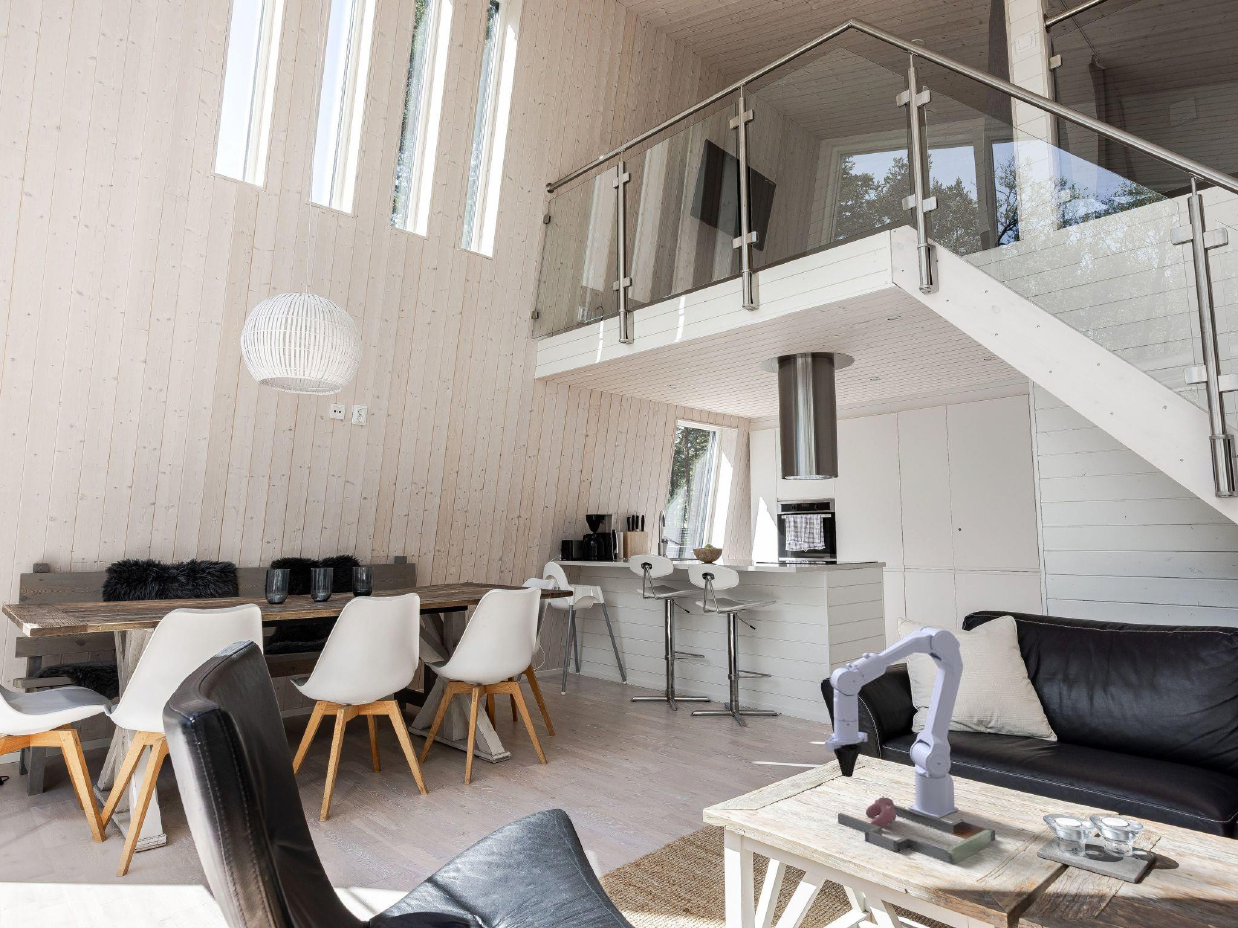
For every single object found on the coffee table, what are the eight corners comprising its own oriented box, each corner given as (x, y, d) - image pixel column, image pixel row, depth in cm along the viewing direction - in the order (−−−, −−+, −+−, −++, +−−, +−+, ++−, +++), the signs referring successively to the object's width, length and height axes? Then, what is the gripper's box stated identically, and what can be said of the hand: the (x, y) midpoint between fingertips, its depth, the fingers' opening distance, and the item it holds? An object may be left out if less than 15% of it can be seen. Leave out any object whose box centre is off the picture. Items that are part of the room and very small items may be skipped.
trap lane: (887, 804, 190) (886, 791, 190) (999, 840, 168) (999, 826, 168) (827, 826, 175) (827, 813, 176) (942, 869, 153) (942, 853, 154)
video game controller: (887, 839, 172) (901, 812, 172) (868, 828, 173) (882, 801, 173) (881, 823, 182) (894, 797, 182) (863, 812, 183) (876, 787, 183)
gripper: (849, 711, 195) (851, 766, 193) (814, 719, 186) (815, 777, 185) (874, 716, 189) (875, 773, 188) (838, 725, 180) (839, 784, 179)
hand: (847, 775), depth 186 cm, fingers closed
